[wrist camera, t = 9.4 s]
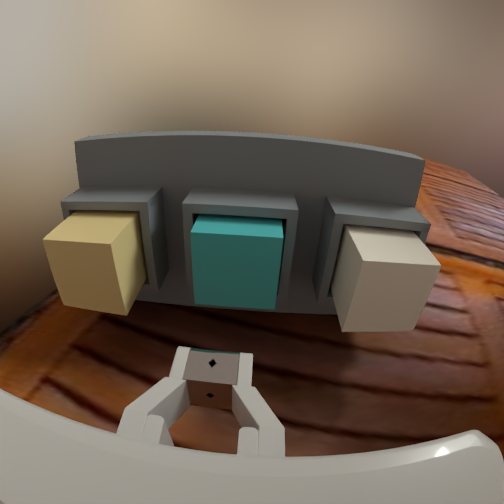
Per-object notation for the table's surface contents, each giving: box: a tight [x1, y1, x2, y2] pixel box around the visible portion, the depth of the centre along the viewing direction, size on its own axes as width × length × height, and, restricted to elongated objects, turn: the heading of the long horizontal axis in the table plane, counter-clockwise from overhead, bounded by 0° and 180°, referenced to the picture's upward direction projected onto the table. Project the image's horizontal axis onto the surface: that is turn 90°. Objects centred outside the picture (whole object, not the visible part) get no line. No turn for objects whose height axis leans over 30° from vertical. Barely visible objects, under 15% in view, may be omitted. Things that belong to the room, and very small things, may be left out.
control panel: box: [61, 131, 431, 315], centre depth 21 cm, size 25×5×14 cm, turn 88°
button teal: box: [190, 214, 283, 309], centre depth 19 cm, size 5×4×5 cm
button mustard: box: [43, 210, 148, 316], centre depth 18 cm, size 5×4×5 cm
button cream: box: [330, 224, 441, 332], centre depth 18 cm, size 5×4×5 cm
